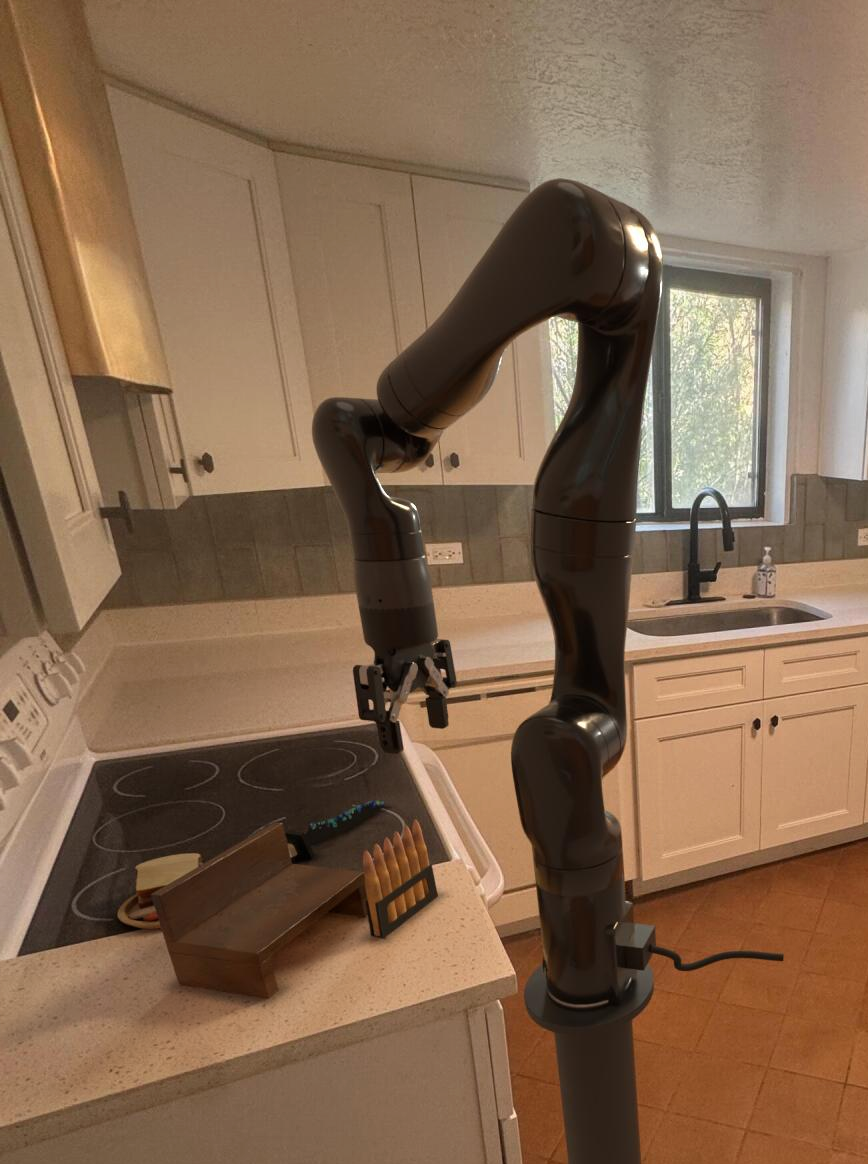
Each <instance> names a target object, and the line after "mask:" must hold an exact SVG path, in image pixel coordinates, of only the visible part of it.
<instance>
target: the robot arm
mask: <svg viewBox="0 0 868 1164" xmlns="http://www.w3.org/2000/svg"><path fill="white" fill-rule="evenodd" d="M663 285H664V259H663V253H662V247H661V242H660V240H659V237H658V234H657V232H656V230H655V228H654V226H653V225H652V223H651V221H649V219H648V218H647V217H646V216H645V215H644V214H642V212H641V211H639V210H637V209H636V208H634V207H632V206H630V205H628V204H627V203H625V202H622V201H620V200H619V199H616V198H614V197H612V196H610V195H608V194H606V193H604V192H602V191H600V190H598V189H596V188H593V187H591V186H589V185H588V184H585V183H583V182H580V181H577V180H572V179H568V178H563V177H562V178H561V177H558V178H553V179H549V180H546V181H545V182H542V183H541V184H539V185H538V186H537V187H535V188H534V189H533V190H532V191H531V192H530V193H529V194H527V196H525V198H523V200H522V201H521V202H520V203H519V204H518V205H517V207H516V209H514V211H513V212H512V213H511V215H510V216H509V217H508V219H507V220H506V221H505V223H504V225H503V226H502V227H501V229H500V230H499V232H498V234H497V235H496V236H495V237H494V239H493V241H492V242H491V244H490V245H489V247H488V248H487V249H486V251H485V252H484V254H483V255H482V256H481V258H480V259H479V261H478V262H477V263H476V265H475V266H474V268H473V269H472V271H471V272H470V273H469V275H468V277H467V278H466V279H465V281H463V284H462V285H461V287H460V288H459V289H458V291H457V293H456V294H455V296H454V297H453V298H452V300H451V301H450V302H449V304H448V305H447V307H446V308H445V309H444V310H443V311H442V313H441V314H440V315H439V316H438V317H437V318H436V320H434V322H433V323H432V324H431V325H430V326H429V327H428V328H427V329H425V331H424V332H422V333H421V335H419V337H417V338H416V339H415V340H413V342H412V343H410V344H409V346H407V347H406V348H405V349H404V350H403V351H402V352H401V353H400V354H398V355H397V356H396V357H395V358H394V359H393V360H391V362H390V363H388V365H386V366H385V368H384V369H383V370H382V371H381V373H380V375H379V377H378V379H377V382H376V388H375V389H376V391H375V392H376V398H375V399H373V398H361V397H347V396H346V397H344V396H334V397H329V398H327V399H324V400H323V401H321V402H320V403H319V405H318V406H317V408H316V409H315V411H314V414H313V416H312V421H311V436H312V437H311V438H312V442H313V446H314V449H315V452H316V455H317V457H318V460H319V462H320V464H321V466H322V468H323V470H324V473H325V475H326V477H327V479H328V481H329V483H330V486H331V488H332V490H333V492H334V494H335V497H336V499H337V502H338V504H339V506H340V508H341V510H342V513H343V515H344V518H345V520H346V526H347V532H348V537H349V543H350V548H351V549H350V550H351V555H352V558H353V559H352V563H353V583H354V587H355V588H354V589H355V593H356V599H357V605H358V611H359V617H360V623H361V628H362V634H363V640H364V643H365V644H366V645H367V646H368V647H370V648H371V649H372V650H373V652H374V657H373V658H374V659H373V663H371V664H368V665H366V664H365V665H364V664H355V665H354V666H353V668H352V676H353V683H354V692H355V698H356V706H357V713H358V719H360V720H361V721H368V722H374V723H375V725H376V729H377V735H378V741H379V746H380V748H381V750H382V752H384V753H386V754H392V755H393V754H394V755H398V754H400V753H402V752H403V751H404V742H403V735H402V729H401V723H400V720H398V719H399V715H400V712H401V708H402V706H403V705H404V704H405V703H407V701H408V698H409V695H410V694H411V693H413V692H414V691H416V689H418V688H419V689H421V690H422V692H423V693H424V694H425V695H426V696H427V697H426V698H425V706H426V713H427V718H428V719H427V721H428V724H429V727H430V728H432V729H438V730H439V729H440V730H444V729H446V728H448V727H449V712H448V704H447V697H448V696H449V694H450V693H449V692H450V689H454V688H456V687H457V684H458V681H457V675H456V668H455V664H454V658H453V652H452V646H451V642H450V640H449V639H442V638H439V631H438V630H439V629H438V623H437V617H436V608H435V602H434V595H433V594H434V593H433V588H432V580H431V575H430V571H429V568H428V564H427V560H426V556H425V548H424V539H423V533H422V526H421V521H420V515H419V511H418V508H417V507H416V505H415V504H414V503H412V502H411V501H410V500H407V499H405V498H401V497H395V496H390V495H387V493H386V492H385V491H384V489H383V487H382V485H381V483H380V481H379V479H378V476H377V475H376V474H396V473H397V474H398V473H404V472H408V471H411V470H412V469H415V468H417V467H419V466H420V465H422V464H423V463H425V461H426V460H427V459H428V458H429V457H430V455H431V453H432V452H433V450H434V448H435V447H436V446H437V444H438V442H439V441H440V439H441V437H442V435H443V433H444V431H445V430H447V429H448V428H449V427H452V425H454V424H455V423H456V422H458V421H459V420H460V419H462V418H463V417H464V416H466V415H467V414H468V413H469V412H470V411H471V410H473V409H474V408H475V407H477V406H478V405H479V404H480V403H481V402H482V401H483V400H484V398H485V397H486V396H487V395H488V394H489V392H490V391H491V389H492V387H493V385H494V384H495V381H496V379H497V376H498V373H499V369H500V365H501V361H502V358H503V355H504V353H505V352H506V349H507V348H508V347H509V346H510V345H511V344H512V343H513V342H514V341H515V340H516V339H518V337H520V336H521V335H523V334H525V333H526V332H528V331H529V330H531V329H533V328H535V327H537V326H538V325H541V324H542V323H544V322H547V321H549V320H551V319H553V318H556V317H557V318H560V319H563V320H565V321H569V322H573V323H577V354H576V355H577V356H576V371H575V379H574V386H573V388H572V389H573V390H572V393H571V397H570V400H569V401H568V406H567V408H566V410H565V413H564V415H563V417H562V420H561V422H560V423H559V425H558V427H557V429H556V431H555V432H554V435H553V437H552V439H551V441H550V443H549V445H548V447H547V448H546V451H545V453H544V455H543V459H542V460H541V462H540V465H539V467H538V470H537V472H536V476H535V479H534V482H533V486H532V492H531V510H530V511H531V512H530V513H531V514H530V554H531V567H532V573H533V576H534V580H535V583H536V587H537V590H538V593H539V595H540V598H541V601H542V604H543V605H544V609H545V612H546V614H547V617H548V619H549V622H550V626H551V631H552V634H553V641H554V669H553V680H552V688H551V695H550V699H549V701H548V704H547V705H545V706H543V707H542V708H541V709H538V710H537V711H536V712H534V713H532V714H531V715H529V716H528V717H527V718H525V719H524V720H523V721H522V722H521V723H520V724H519V726H518V727H517V728H516V730H515V732H514V734H513V737H512V741H511V747H510V762H511V763H510V764H511V773H512V781H513V786H514V792H515V797H516V803H517V809H518V816H519V821H520V824H521V828H522V830H523V833H524V834H525V837H526V838H527V840H528V841H529V843H530V846H531V852H532V853H531V854H532V863H533V870H534V871H533V872H534V879H535V880H534V881H535V890H536V898H537V908H538V917H539V925H540V934H541V942H542V943H541V944H542V953H543V956H542V964H543V972H544V968H545V970H546V973H545V974H546V979H547V980H546V988H547V994H548V996H549V998H550V1000H551V1001H552V1002H553V1003H555V1004H556V1005H558V1006H559V1007H562V1008H564V1009H568V1010H573V1011H590V1010H596V1009H600V1008H603V1007H606V1006H619V1005H620V1004H621V1002H622V1000H623V998H624V996H625V995H626V993H627V991H628V990H629V988H630V986H631V983H632V982H633V980H634V978H635V976H636V974H637V970H642V971H644V970H645V968H646V966H647V964H649V962H650V960H651V959H652V956H653V954H655V955H659V956H663V957H666V958H669V959H671V960H672V961H673V966H674V969H676V970H677V971H679V972H693V971H695V970H699V969H701V968H705V967H706V966H708V965H711V964H714V963H718V962H721V961H723V960H730V959H752V960H762V961H763V960H764V961H773V962H784V953H774V952H765V951H757V950H756V951H754V950H729V951H724V952H719V953H715V954H713V955H710V956H707V957H705V958H702V959H699V960H697V961H693V962H689V963H688V962H687V963H683V962H682V958H681V956H680V954H679V953H677V952H676V951H674V950H672V949H668V948H665V947H661V946H659V945H658V946H657V940H656V939H657V936H656V925H651V924H643V923H635V915H634V903H633V902H632V901H629V900H627V896H626V895H627V894H626V881H625V880H626V879H625V863H624V850H623V848H624V847H623V831H622V825H621V821H620V820H619V819H618V817H617V816H616V815H615V814H613V813H612V812H610V811H608V810H606V809H605V802H604V793H603V779H604V778H605V777H607V776H608V775H609V774H610V773H611V772H612V771H613V770H614V769H615V768H616V766H617V765H618V763H619V762H621V759H622V758H623V755H624V752H625V750H626V745H627V737H628V717H627V716H628V715H627V713H628V712H627V697H626V694H627V693H626V667H625V666H626V665H625V664H626V663H625V662H626V661H625V660H626V659H625V658H626V657H625V654H626V640H627V630H628V623H629V622H628V621H629V611H630V599H631V587H632V585H631V583H632V575H633V574H632V573H633V566H634V555H635V543H636V529H637V519H636V518H637V513H638V511H637V509H638V484H639V483H638V482H639V471H640V460H641V451H642V450H641V449H642V439H643V438H642V437H643V427H644V426H643V425H644V414H645V405H646V404H645V403H646V396H647V388H648V381H649V376H650V370H651V363H652V357H653V351H654V345H655V339H656V333H657V327H658V322H659V315H660V310H661V303H662V302H661V301H662V295H663ZM442 670H444V672H445V676H443V675H442ZM387 689H388V690H390V691H392V692H389V691H387ZM369 700H370V701H372V705H373V707H372V708H370V701H369ZM388 703H390V704H389V708H388V710H387V709H386V706H387V704H388Z"/></svg>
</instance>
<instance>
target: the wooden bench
mask: <svg viewBox="0 0 868 1164" xmlns="http://www.w3.org/2000/svg"><path fill="white" fill-rule="evenodd" d="M285 833H286V831H285V828H284V824H283V822H273V823H271V824H270V825H268V826H266V827H263V828H262V829H261V830H259V831H257V832H255V833H254V834H252V835H250V836H249V837H247V838H245V839H243V840H242V841H240V842H238V843H237V844H235V845H233V846H232V847H230V848H228V849H226V850H224V851H223V852H222V853H219V854H217V855H216V856H215V857H212V858H210V859H209V860H208V861H206V862H204V863H202V864H200V865H199V867H197V868H195V869H194V870H192V871H190V872H188V873H187V874H185V875H183V876H182V877H180V878H178V879H176V880H175V881H173V882H171V883H170V884H168V885H166V886H164V887H163V888H161V889H159V890H157V891H156V892H154V893H152V894H151V897H152V900H153V904H154V907H155V910H156V913H157V916H158V920H159V923H160V926H161V928H160V929H161V932H162V936H163V939H164V942H165V944H166V948H167V951H168V955H169V958H170V962H171V964H172V968H173V971H174V974H175V977H176V980H177V983H178V985H179V986H185V987H192V988H196V989H197V988H198V989H205V990H211V991H217V992H224V993H231V994H238V995H244V996H250V997H257V998H263V999H270V998H271V997H273V996H274V995H275V994H276V993H277V992H278V991H279V990H280V989H279V986H278V982H277V978H276V975H275V970H274V966H273V962H272V959H271V957H272V956H273V955H275V954H276V953H277V952H279V950H281V949H282V948H284V947H285V946H286V945H288V944H289V943H290V942H291V941H292V940H293V939H296V937H298V936H299V935H300V934H301V933H303V932H304V931H306V930H307V929H308V928H309V927H310V926H312V925H313V924H314V923H315V922H316V921H318V920H319V919H320V918H323V916H324V915H326V914H327V913H329V914H336V915H337V914H338V915H345V916H353V917H359V918H360V917H361V918H366V917H368V915H367V909H366V902H365V901H366V900H368V899H367V894H366V888H365V875H364V871H359V870H350V869H341V868H334V867H326V866H325V867H324V866H315V865H309V864H308V865H306V864H297V863H293V862H292V858H291V857H290V853H289V849H288V844H287V841H288V840H287V838H286V836H285Z"/></svg>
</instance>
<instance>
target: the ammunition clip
mask: <svg viewBox="0 0 868 1164" xmlns="http://www.w3.org/2000/svg"><path fill="white" fill-rule="evenodd" d="M402 831H403V832H402V836H403V837H402V836H401V835H400V833H399V832H398V831H394V834H393V840H392V841H393V845H392V842H391V840H390V839H389V837H384V841H383V851H382V849H381V846H380V845H379V844H378V843H375V844H374V846H373V858H372V856H371V854H370V853H369V850H367V849H365V850H364V851H363V855H362V866H363V872H364V875H365V888H366V894H367V899H368V900H366V901H365V902H366V909H367V920H368V921H367V922H368V927H369V932H370V933H369V934H370V937H374V938H378V939H385V938H387V937H388V936H389V935H391V934H392V933H393V932H395V930H397V929H398V928H400V926H402V925H404V923H406V922H407V921H409V920H410V919H411V918H412V917H414V916H415V915H416V914H417V913H419V912H420V911H421V910H423V908H425V907H426V906H427V905H429V904H430V903H432V902H433V901H434V900H436V898H438V897H439V894H438V888H437V884H436V878H435V872H434V869H433V864H432V863H430V860H429V856H428V855H429V854H428V849H427V846H426V843H425V839H424V836H423V831H422V828H421V825H420V823H419V821H418V820H417V818H415V819H414V820H413V822H412V831H411V829H410V827H409V826H408V825H407V824H405V825H404V827H403V830H402Z"/></svg>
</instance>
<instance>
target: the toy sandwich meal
mask: <svg viewBox="0 0 868 1164" xmlns="http://www.w3.org/2000/svg"><path fill="white" fill-rule="evenodd" d="M202 861H203V859H202V855H201V854H200V853H195V852H193V853H191V852H190V853H178V854H171V855H166V856H162V857H161V856H160V857H157V858H153V859H150V860H147V861H144V862H142V863H139V864H137V865H136V866H135V867H134V869H135V873H136V879H135V880H134V885H135V894H134V895H132V896H130V897H129V898H128V899H127V900H126V899H125V901H124V902H123V903H122V905H120V907H119V908H118V911H117V918H118V920H119V921H120V922H121V923H123V924H125V925H127V926H132V927H134V928H138V929H144V930H145V929H146V930H148V929H149V930H151V929H161V926H160V923H159V920H158V916H157V913H156V910H155V907H154V904H153V900H152V897H151V894H152V893H154V892H156V891H157V890H159V889H161V888H163V887H164V886H166V885H168V884H170V883H171V882H173V881H175V880H176V879H178V878H180V877H182V876H183V875H185V874H187V873H188V872H190V871H192V870H194V869H195V868H197V867H199V866H200V865H201V863H202Z"/></svg>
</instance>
